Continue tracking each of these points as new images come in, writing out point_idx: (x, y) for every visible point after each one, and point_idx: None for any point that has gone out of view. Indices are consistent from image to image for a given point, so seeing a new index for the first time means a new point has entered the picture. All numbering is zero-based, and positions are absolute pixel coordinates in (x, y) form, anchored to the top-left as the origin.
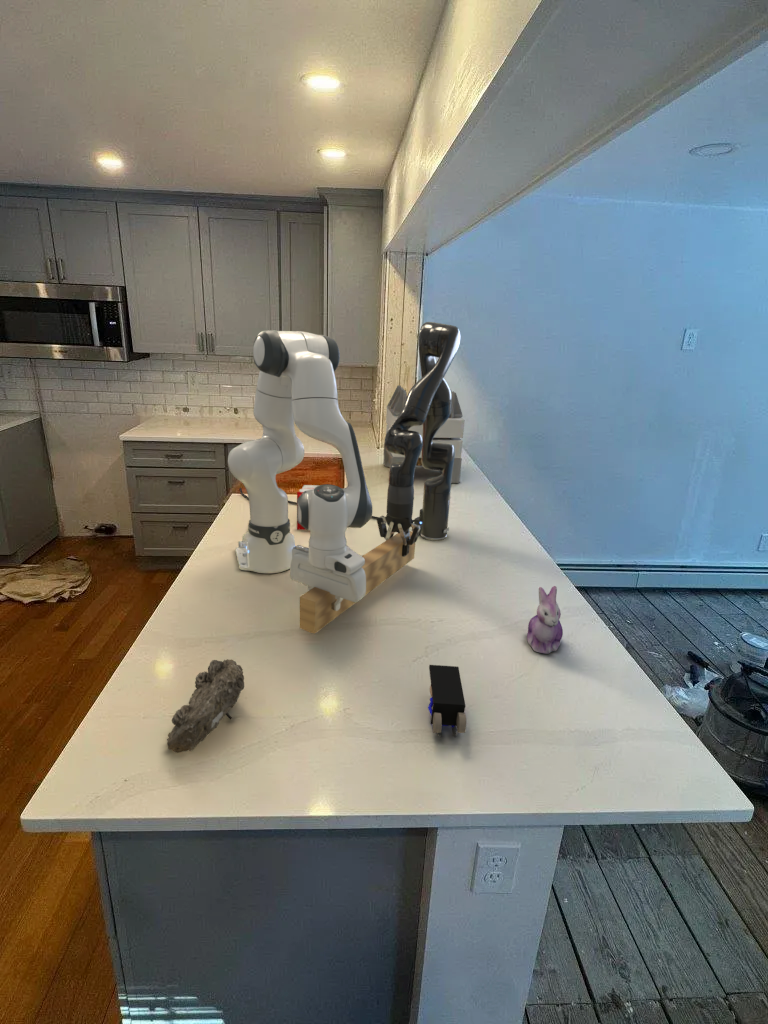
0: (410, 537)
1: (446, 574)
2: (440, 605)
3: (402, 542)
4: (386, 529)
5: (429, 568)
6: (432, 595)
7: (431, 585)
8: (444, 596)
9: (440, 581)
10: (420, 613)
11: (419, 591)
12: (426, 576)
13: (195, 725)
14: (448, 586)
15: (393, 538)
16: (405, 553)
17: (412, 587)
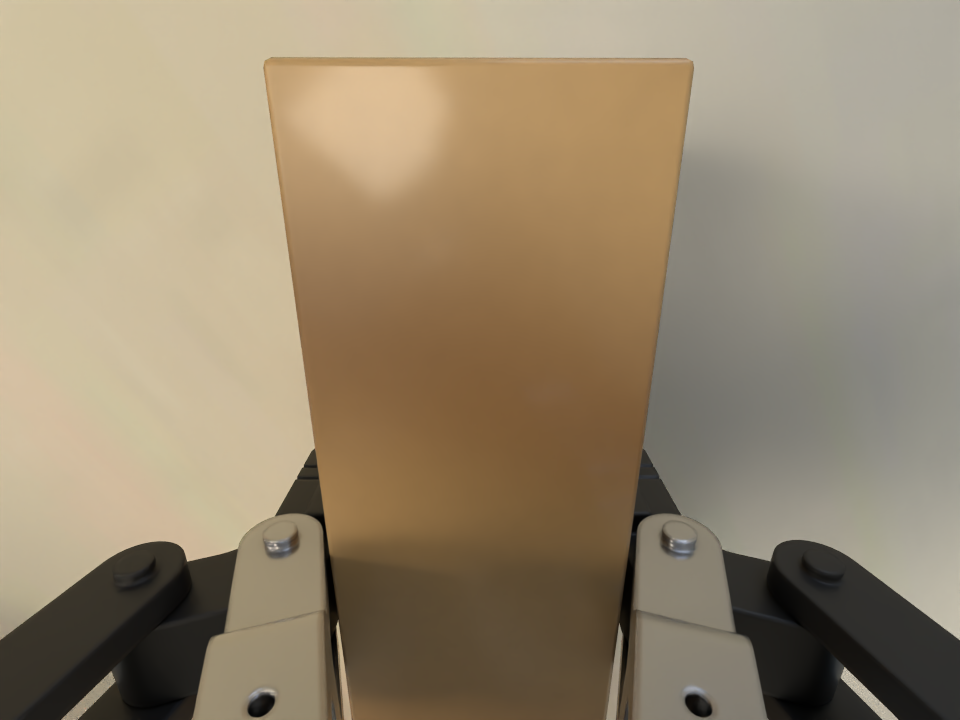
0: (645, 385)
1: (902, 76)
2: (924, 563)
3: (612, 667)
4: (99, 665)
5: (702, 45)
6: (848, 486)
7: (808, 361)
8: (936, 456)
9: (868, 255)
10: None
11: (747, 484)
12: (726, 237)
13: None
14: (949, 301)
15: (403, 642)
16: None
17: (682, 462)
